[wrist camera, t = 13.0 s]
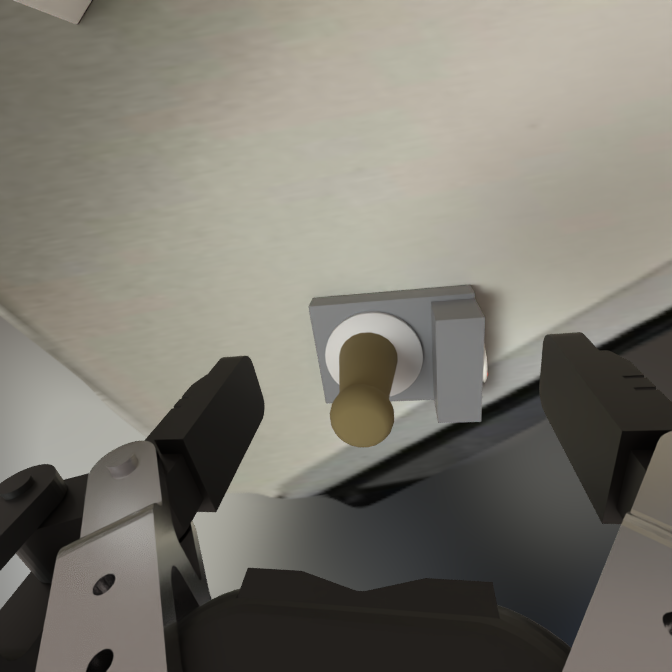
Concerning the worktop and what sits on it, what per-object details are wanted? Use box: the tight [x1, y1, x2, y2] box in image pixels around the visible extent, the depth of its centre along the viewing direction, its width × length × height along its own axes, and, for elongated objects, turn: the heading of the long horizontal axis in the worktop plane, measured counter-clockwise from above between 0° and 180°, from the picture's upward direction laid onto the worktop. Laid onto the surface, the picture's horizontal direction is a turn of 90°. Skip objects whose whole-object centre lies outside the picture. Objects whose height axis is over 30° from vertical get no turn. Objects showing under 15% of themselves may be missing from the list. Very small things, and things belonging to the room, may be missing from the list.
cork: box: [330, 332, 398, 447], centre depth 34 cm, size 6×6×11 cm
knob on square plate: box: [309, 285, 488, 423], centre depth 38 cm, size 16×12×7 cm
